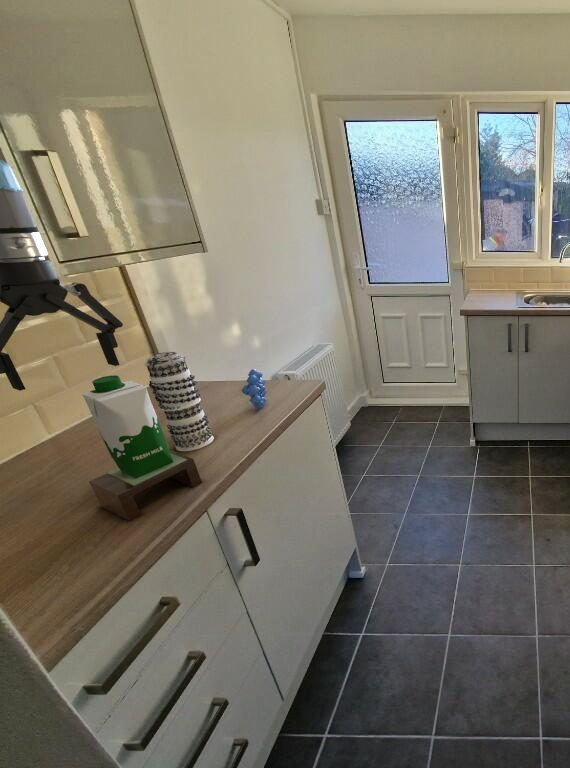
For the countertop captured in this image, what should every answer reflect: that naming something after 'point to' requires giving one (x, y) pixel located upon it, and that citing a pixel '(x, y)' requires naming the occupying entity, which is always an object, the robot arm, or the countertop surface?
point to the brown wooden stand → (140, 484)
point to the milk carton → (128, 425)
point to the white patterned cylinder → (179, 401)
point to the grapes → (255, 389)
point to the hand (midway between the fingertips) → (70, 375)
